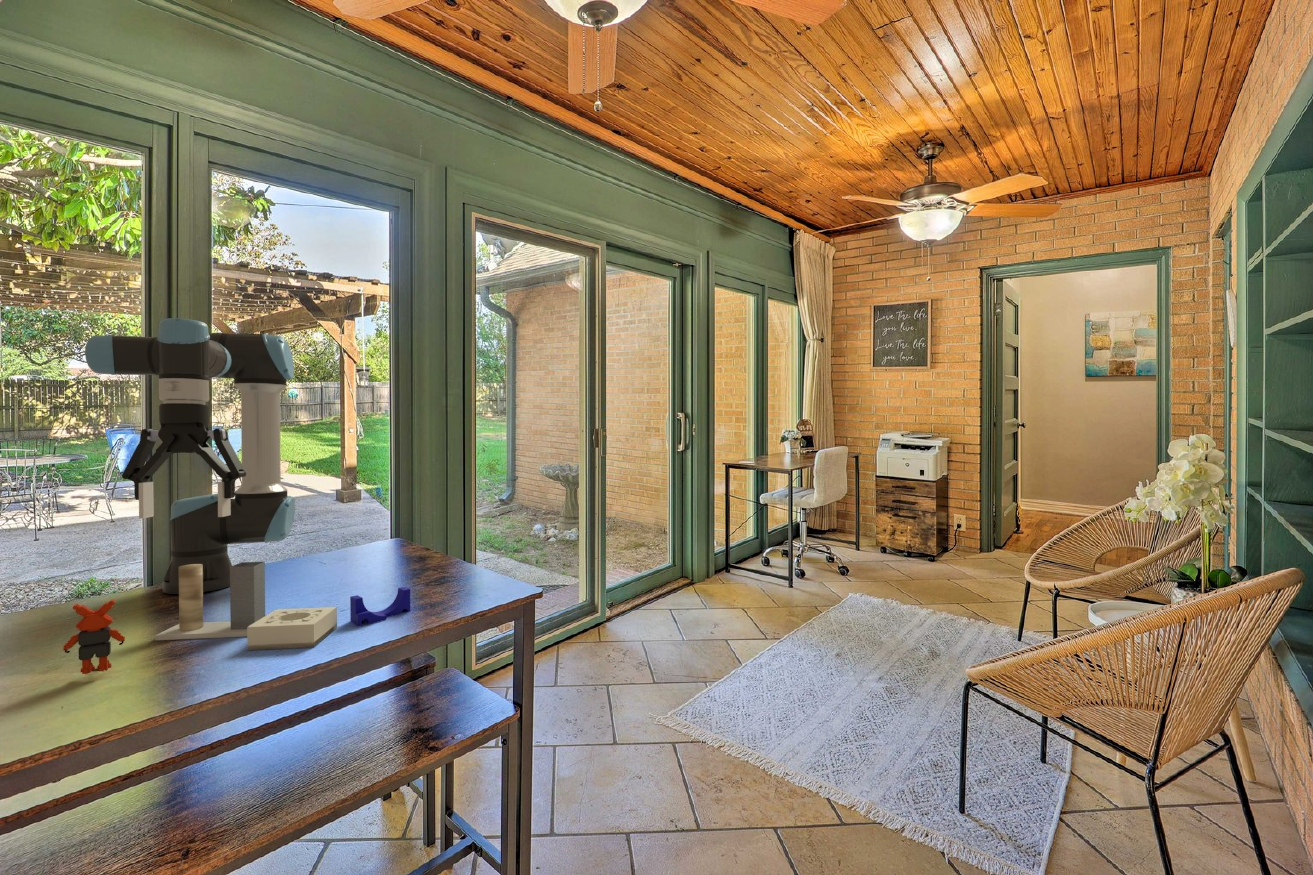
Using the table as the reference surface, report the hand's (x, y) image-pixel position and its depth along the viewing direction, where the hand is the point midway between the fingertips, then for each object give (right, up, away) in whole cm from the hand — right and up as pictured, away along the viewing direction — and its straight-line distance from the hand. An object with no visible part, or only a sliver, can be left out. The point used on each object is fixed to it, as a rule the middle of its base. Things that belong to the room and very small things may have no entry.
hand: (185, 517), depth 117 cm
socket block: (+15, -26, +10) cm, 31 cm away
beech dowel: (-9, -25, +14) cm, 30 cm away
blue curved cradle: (+27, -26, +23) cm, 44 cm away
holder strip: (-4, -26, +14) cm, 30 cm away
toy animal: (-11, -26, -6) cm, 29 cm away
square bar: (+2, -25, +15) cm, 29 cm away
